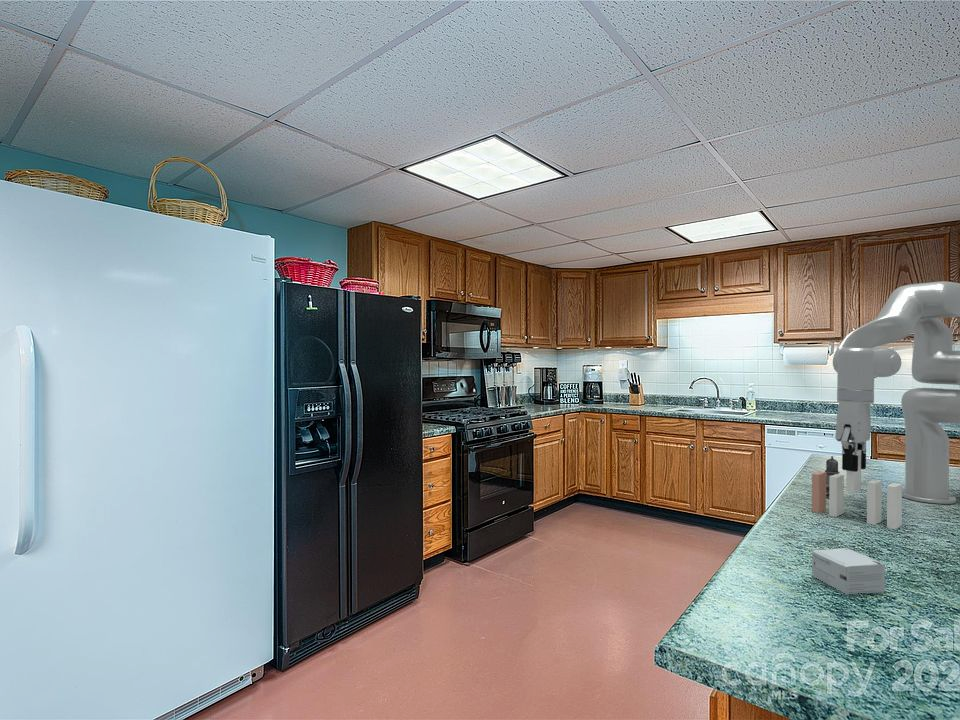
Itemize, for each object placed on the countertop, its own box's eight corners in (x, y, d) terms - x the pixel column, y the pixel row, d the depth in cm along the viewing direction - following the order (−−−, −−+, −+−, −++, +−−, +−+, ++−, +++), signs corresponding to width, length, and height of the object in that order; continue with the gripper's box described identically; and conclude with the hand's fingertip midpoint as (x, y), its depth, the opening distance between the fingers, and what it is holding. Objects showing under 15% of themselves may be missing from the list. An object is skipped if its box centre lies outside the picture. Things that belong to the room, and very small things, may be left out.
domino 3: (873, 519, 129) (873, 479, 129) (881, 521, 128) (881, 480, 128) (866, 523, 126) (866, 482, 126) (874, 525, 125) (874, 483, 125)
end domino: (819, 508, 139) (819, 471, 139) (826, 509, 138) (826, 472, 138) (811, 511, 136) (812, 473, 136) (818, 513, 135) (818, 474, 135)
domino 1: (836, 512, 136) (836, 473, 136) (843, 513, 135) (843, 474, 135) (829, 515, 133) (829, 476, 133) (836, 517, 132) (836, 477, 131)
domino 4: (893, 523, 126) (893, 482, 126) (901, 525, 125) (901, 483, 125) (886, 527, 123) (887, 485, 123) (895, 529, 122) (895, 487, 122)
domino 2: (853, 488, 132) (853, 449, 132) (860, 489, 131) (861, 449, 131) (846, 490, 129) (846, 450, 129) (853, 492, 128) (854, 451, 128)
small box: (810, 577, 96) (810, 549, 96) (848, 574, 97) (848, 547, 97) (846, 596, 88) (846, 566, 88) (886, 593, 89) (886, 563, 89)
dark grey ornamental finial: (848, 500, 147) (848, 458, 147) (825, 499, 148) (825, 457, 148) (838, 495, 152) (838, 454, 152) (816, 494, 154) (816, 453, 154)
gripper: (849, 395, 138) (848, 463, 138) (825, 396, 128) (823, 470, 128) (884, 397, 133) (883, 468, 132) (861, 398, 122) (860, 476, 122)
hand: (854, 468), depth 130 cm, fingers closed on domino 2, 4 cm apart
